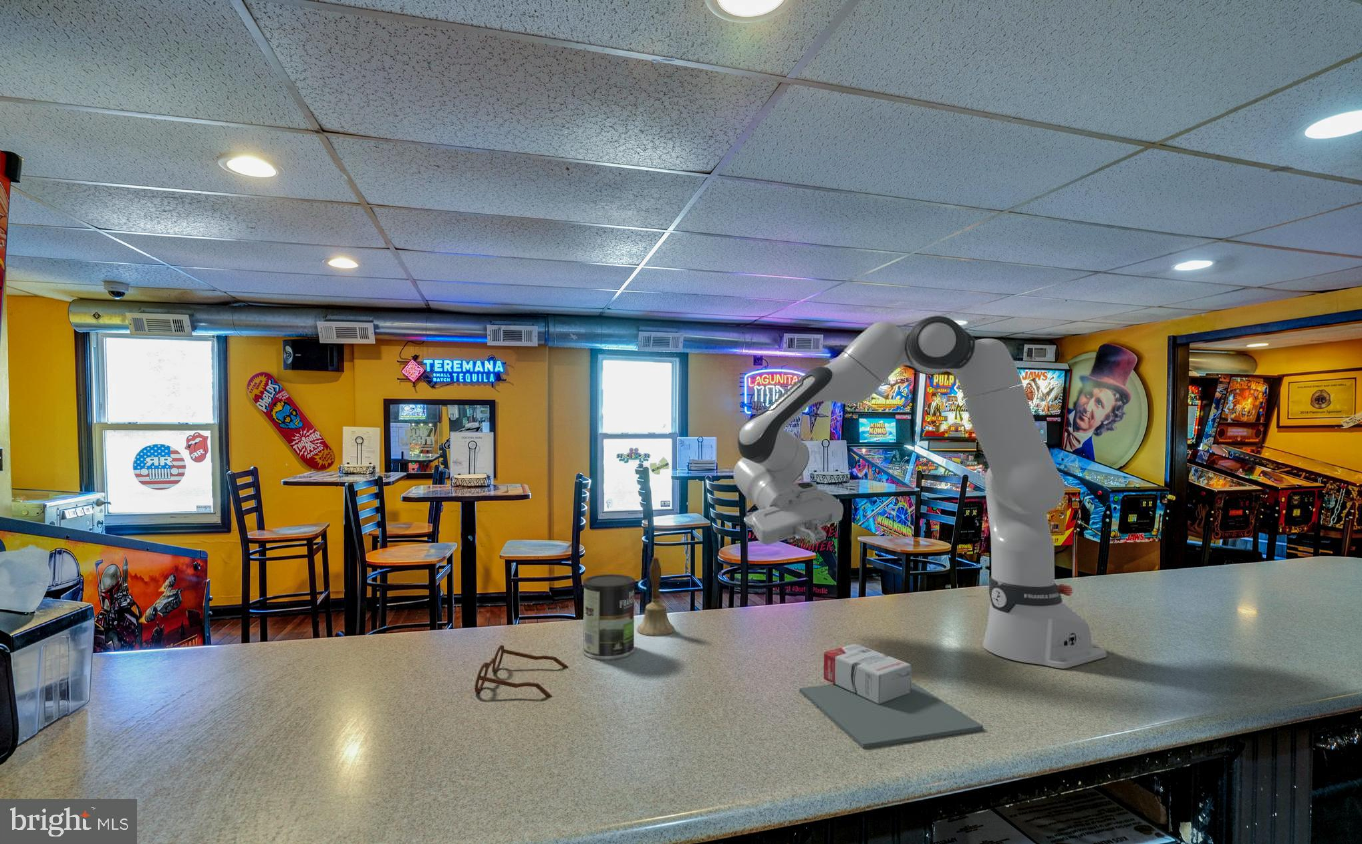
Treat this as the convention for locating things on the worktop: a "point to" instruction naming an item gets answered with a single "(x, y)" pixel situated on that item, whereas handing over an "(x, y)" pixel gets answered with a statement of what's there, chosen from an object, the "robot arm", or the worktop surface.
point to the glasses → (506, 683)
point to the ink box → (867, 673)
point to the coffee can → (608, 616)
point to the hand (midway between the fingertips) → (819, 538)
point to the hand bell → (655, 608)
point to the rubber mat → (889, 715)
